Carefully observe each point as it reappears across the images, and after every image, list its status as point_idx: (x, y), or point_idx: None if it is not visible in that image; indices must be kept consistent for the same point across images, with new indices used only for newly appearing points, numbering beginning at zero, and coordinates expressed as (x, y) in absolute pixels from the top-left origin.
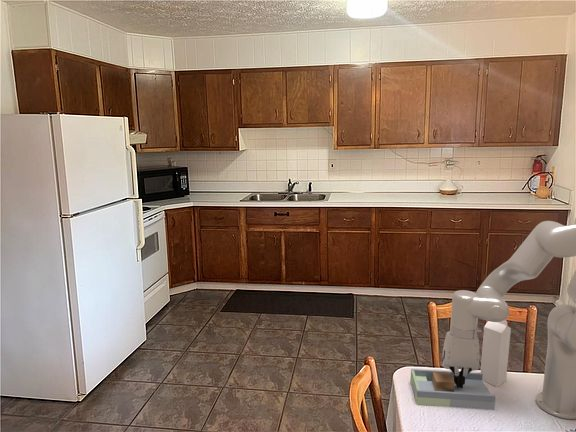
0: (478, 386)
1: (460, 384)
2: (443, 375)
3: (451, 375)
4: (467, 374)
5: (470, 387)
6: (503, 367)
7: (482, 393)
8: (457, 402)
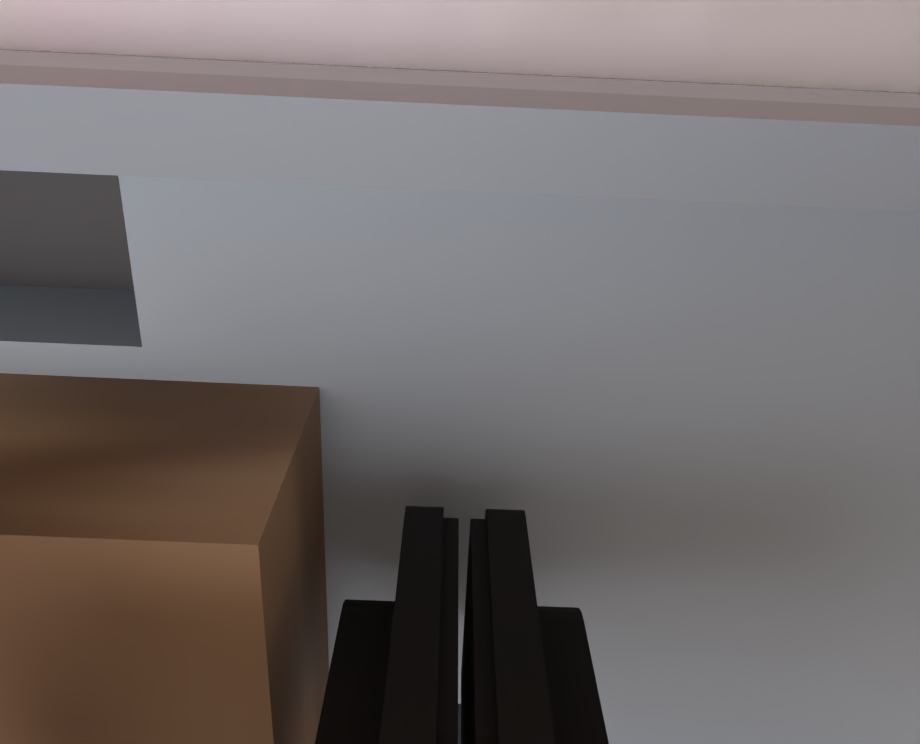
0: (916, 459)
1: (462, 726)
2: (29, 662)
3: (266, 648)
4: (884, 200)
5: (719, 508)
6: None
7: (852, 662)
8: None
